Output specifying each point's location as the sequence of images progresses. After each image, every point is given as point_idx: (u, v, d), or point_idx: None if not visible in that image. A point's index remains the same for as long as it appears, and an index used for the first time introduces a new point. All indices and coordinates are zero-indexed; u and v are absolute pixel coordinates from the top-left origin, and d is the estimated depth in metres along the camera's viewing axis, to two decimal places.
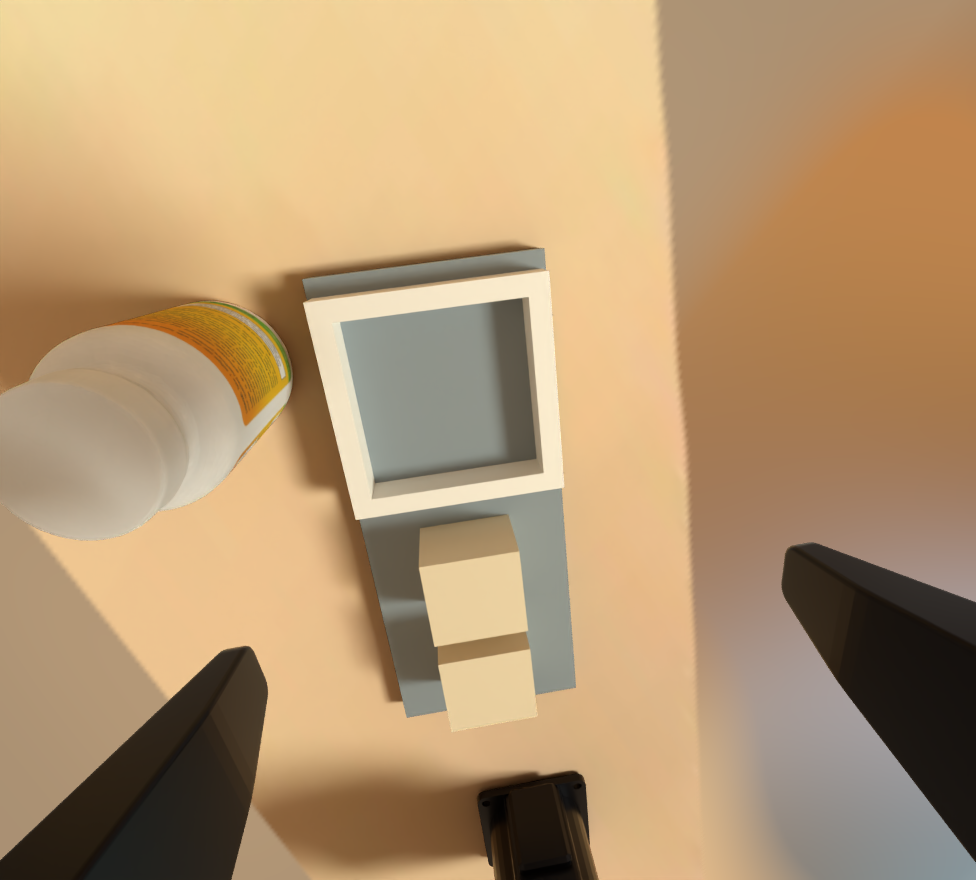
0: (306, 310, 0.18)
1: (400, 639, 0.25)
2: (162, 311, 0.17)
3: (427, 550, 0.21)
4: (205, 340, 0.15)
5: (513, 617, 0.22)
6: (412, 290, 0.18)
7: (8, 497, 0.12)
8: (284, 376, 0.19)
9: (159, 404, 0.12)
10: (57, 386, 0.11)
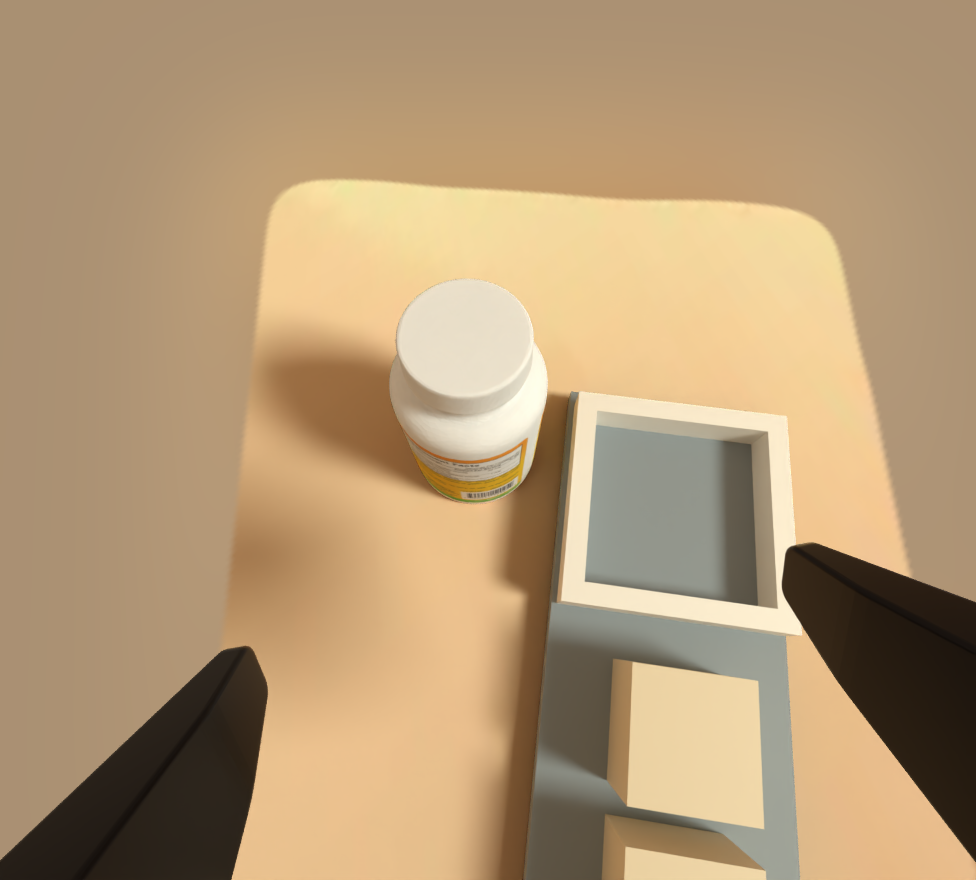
0: (579, 397, 0.22)
1: (546, 835, 0.18)
2: None
3: None
4: None
5: (744, 792, 0.16)
6: (668, 403, 0.22)
7: (407, 342, 0.15)
8: (535, 450, 0.22)
9: None
10: (488, 283, 0.15)
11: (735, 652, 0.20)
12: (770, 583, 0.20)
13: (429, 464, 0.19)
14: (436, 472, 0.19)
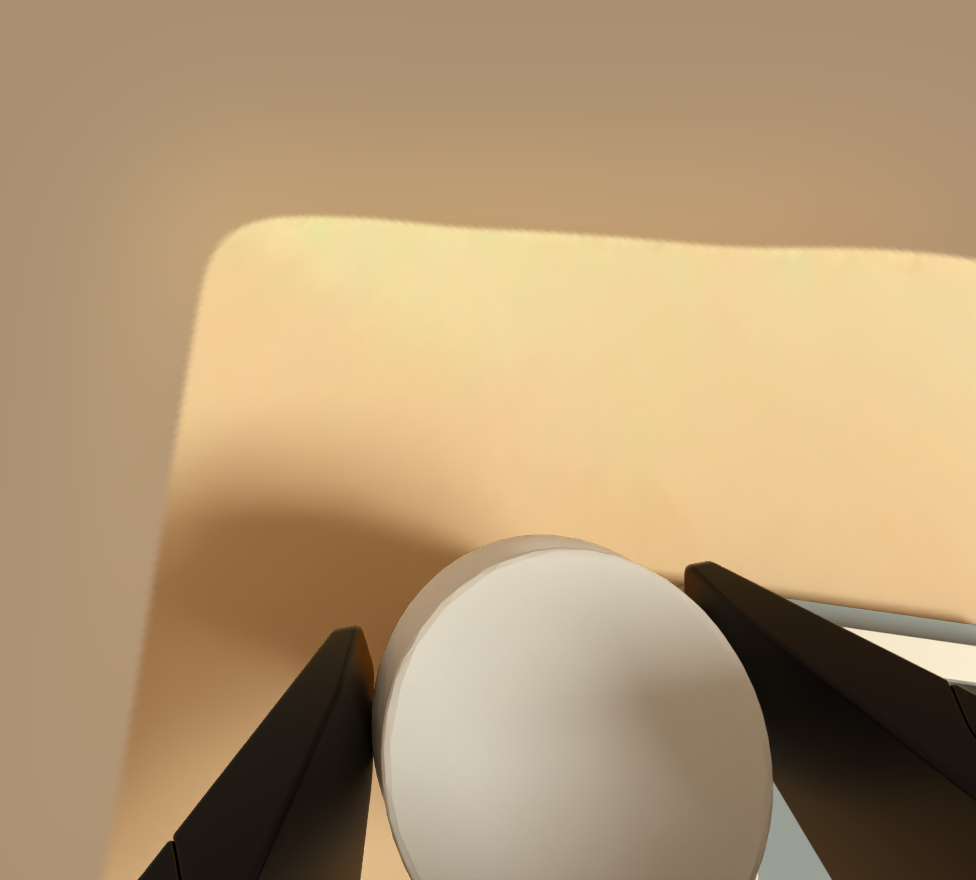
0: None
1: None
2: None
3: None
4: None
5: None
6: (877, 635, 0.12)
7: (413, 775, 0.05)
8: None
9: None
10: (627, 566, 0.06)
11: None
12: None
13: None
14: None
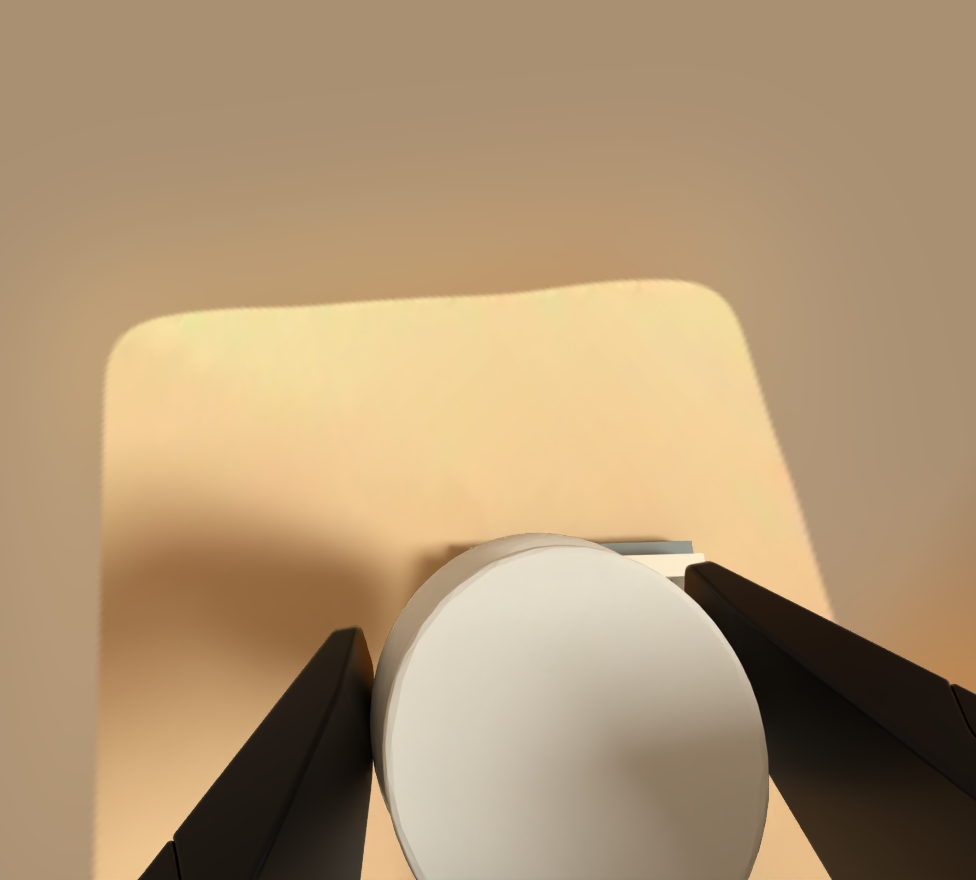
0: None
1: None
2: None
3: None
4: None
5: None
6: None
7: (414, 770, 0.05)
8: None
9: None
10: (626, 562, 0.06)
11: None
12: None
13: None
14: None
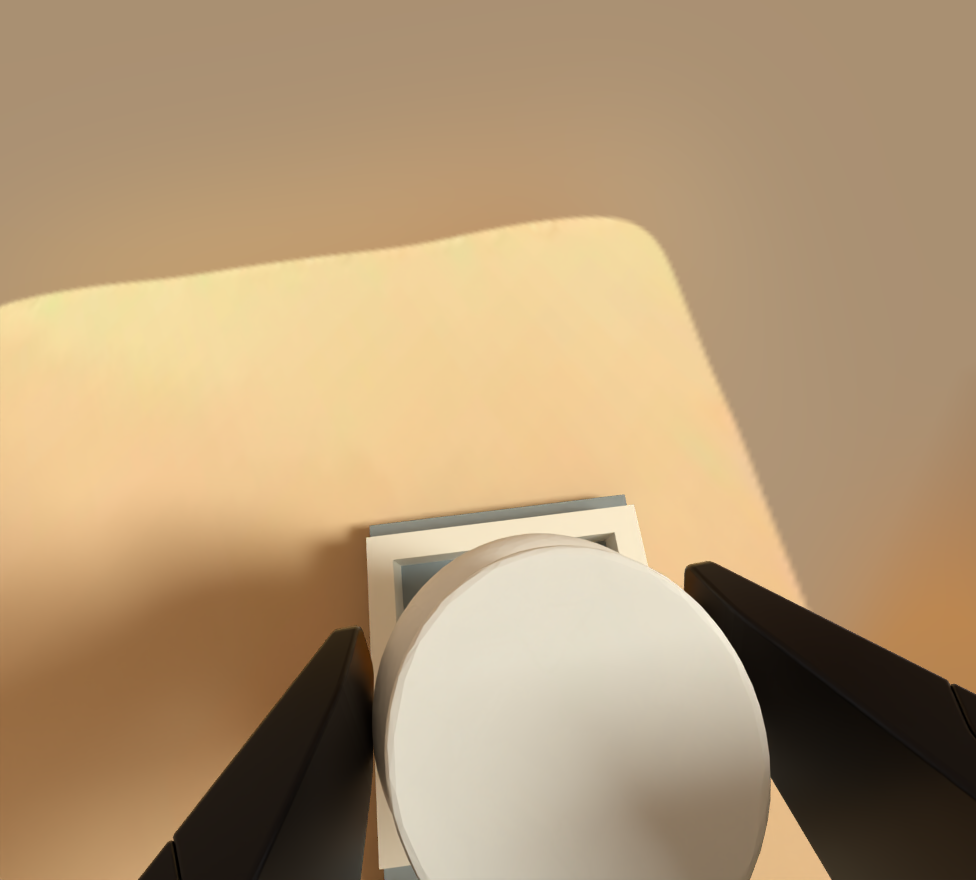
0: (368, 546, 0.16)
1: None
2: None
3: None
4: None
5: None
6: (484, 525, 0.16)
7: (416, 770, 0.05)
8: None
9: None
10: (627, 563, 0.06)
11: None
12: None
13: None
14: None
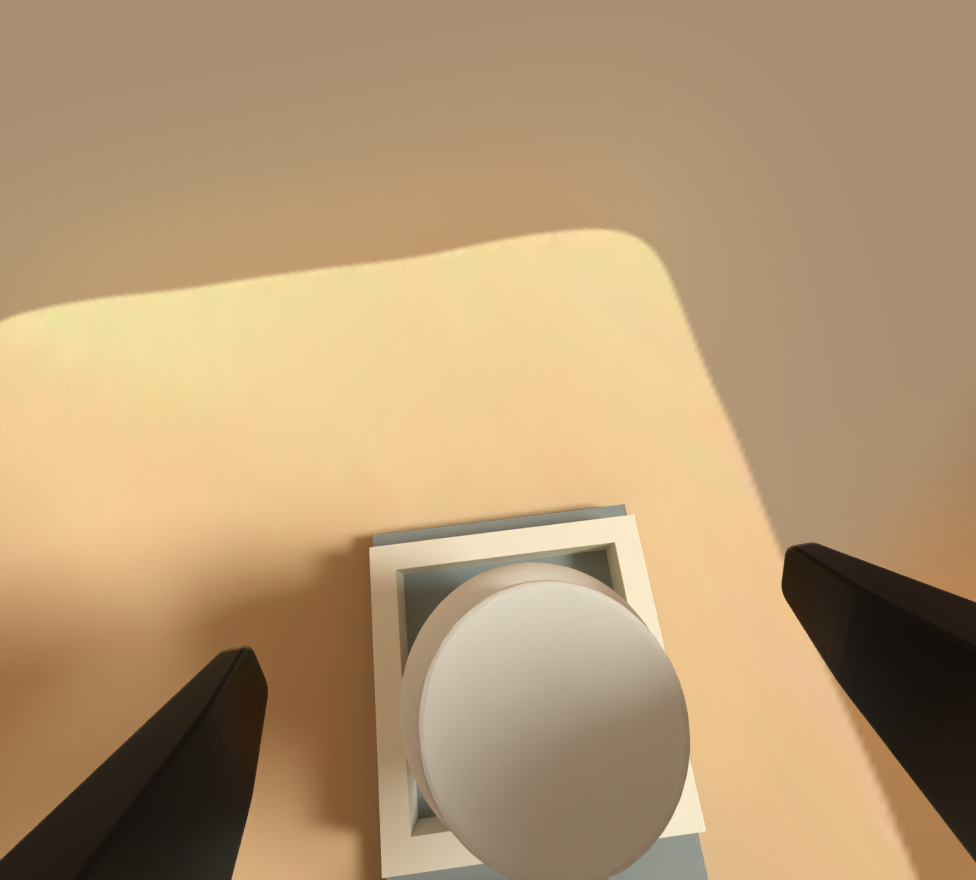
0: (371, 555, 0.17)
1: None
2: None
3: None
4: None
5: None
6: (486, 535, 0.17)
7: (439, 744, 0.07)
8: None
9: None
10: (591, 593, 0.08)
11: None
12: None
13: None
14: None
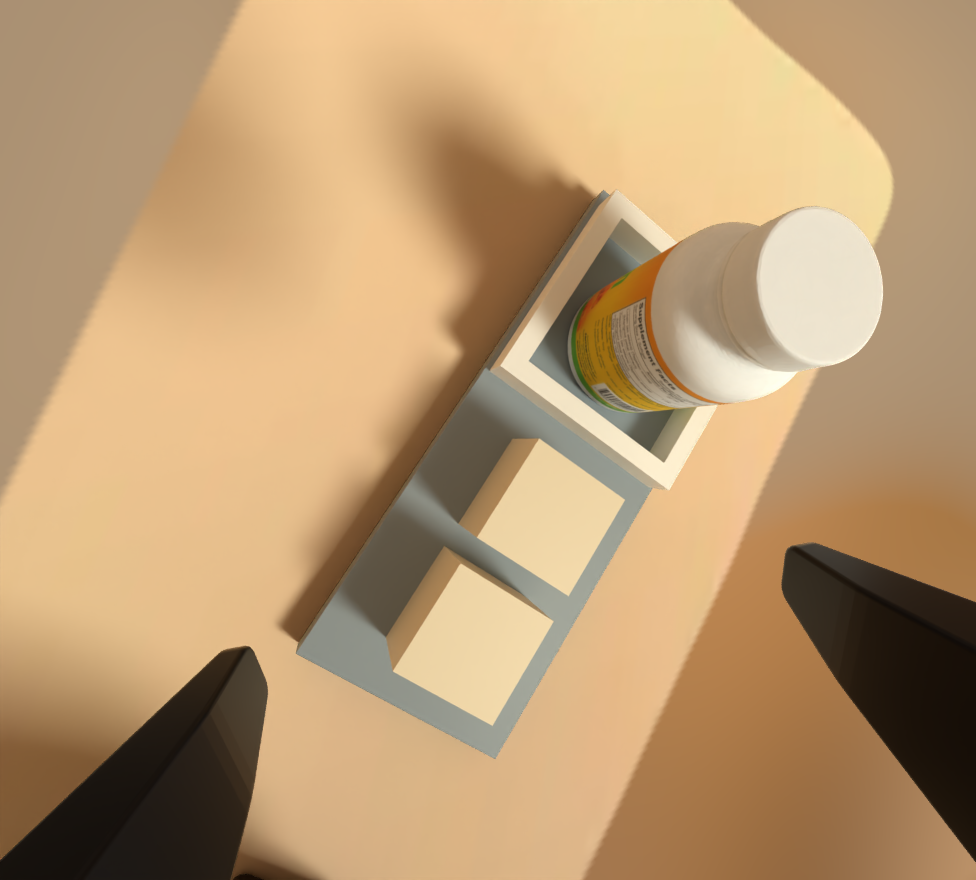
0: (613, 195, 0.20)
1: (389, 539, 0.20)
2: None
3: None
4: None
5: (569, 567, 0.18)
6: None
7: (776, 245, 0.12)
8: None
9: None
10: (874, 255, 0.13)
11: (608, 482, 0.22)
12: (668, 443, 0.22)
13: (622, 345, 0.17)
14: (615, 355, 0.18)
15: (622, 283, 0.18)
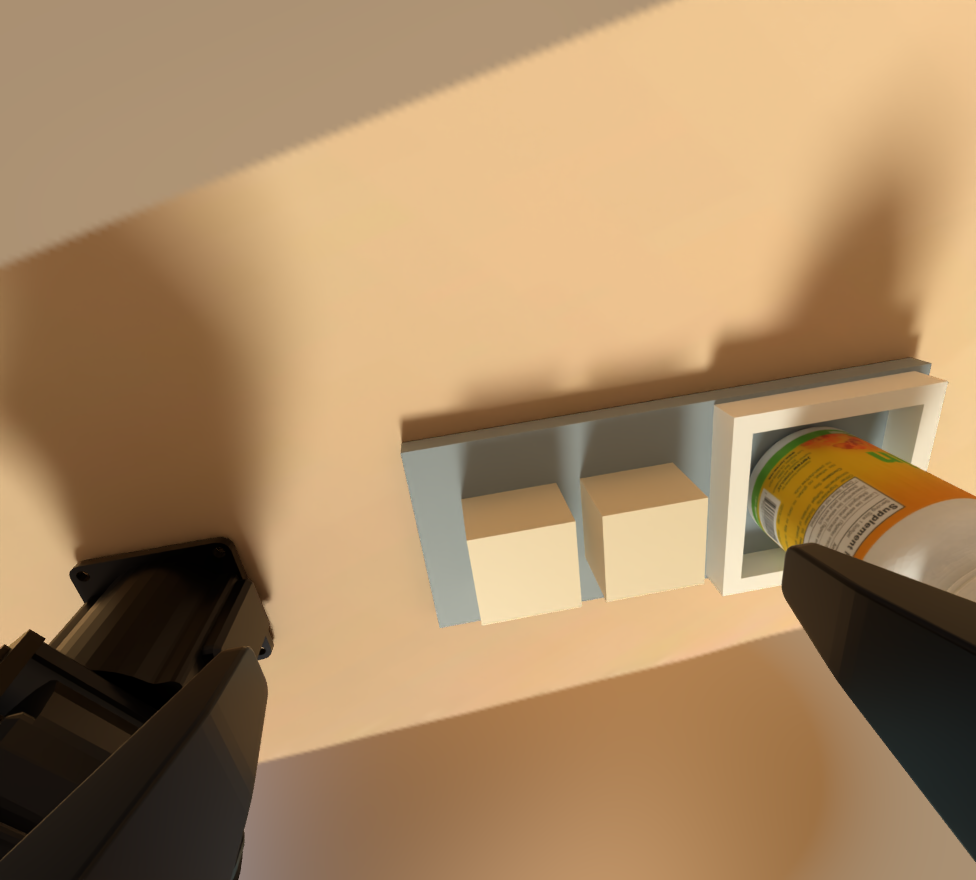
0: (940, 383, 0.20)
1: (530, 444, 0.21)
2: None
3: None
4: None
5: (626, 587, 0.20)
6: (925, 467, 0.22)
7: None
8: None
9: None
10: None
11: None
12: (755, 568, 0.23)
13: (838, 506, 0.18)
14: (821, 503, 0.18)
15: (884, 463, 0.18)
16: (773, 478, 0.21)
